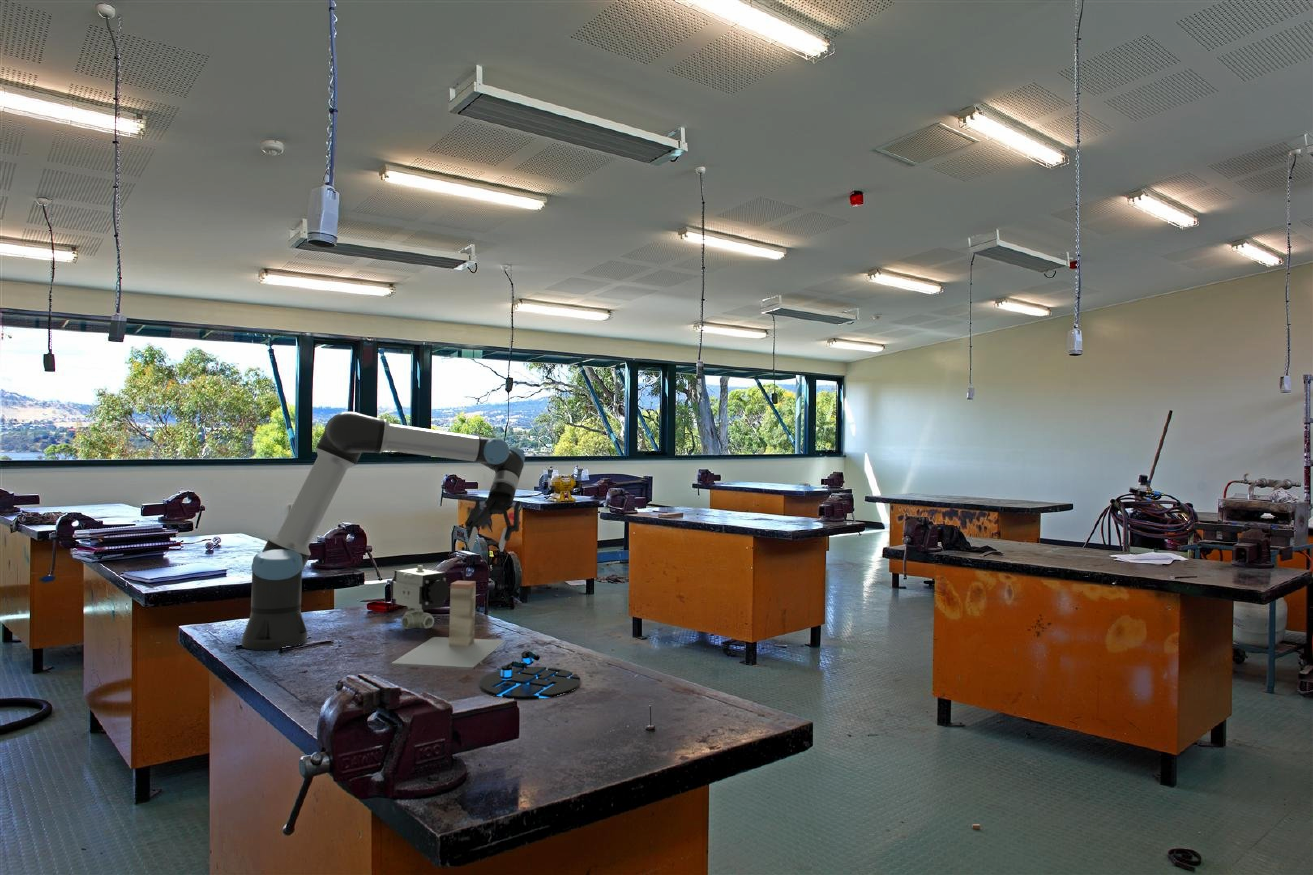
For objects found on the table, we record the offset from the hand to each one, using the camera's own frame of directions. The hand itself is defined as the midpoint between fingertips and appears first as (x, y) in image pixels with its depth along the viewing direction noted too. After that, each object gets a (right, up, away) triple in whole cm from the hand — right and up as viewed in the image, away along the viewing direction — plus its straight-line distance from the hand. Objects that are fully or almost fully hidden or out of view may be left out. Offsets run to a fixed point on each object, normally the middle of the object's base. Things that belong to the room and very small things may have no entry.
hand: (485, 548), depth 216 cm
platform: (+21, -24, -48) cm, 57 cm away
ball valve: (-20, -23, +1) cm, 31 cm away
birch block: (-2, -22, -18) cm, 29 cm away
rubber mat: (-3, -23, -25) cm, 34 cm away
